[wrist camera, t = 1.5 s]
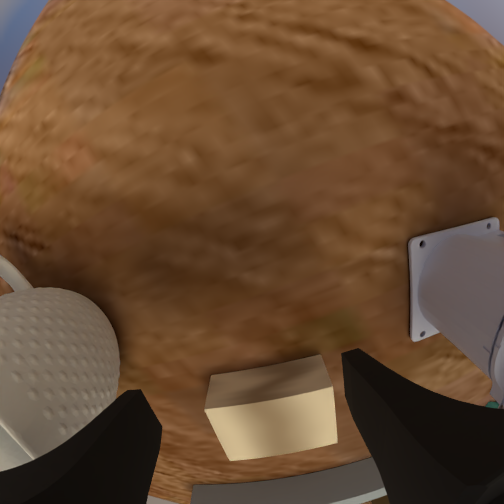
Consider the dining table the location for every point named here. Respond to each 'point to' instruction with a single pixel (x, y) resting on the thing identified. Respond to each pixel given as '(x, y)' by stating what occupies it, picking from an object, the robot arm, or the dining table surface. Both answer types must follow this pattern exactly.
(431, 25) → the dining table surface
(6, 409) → the mug
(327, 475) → the board
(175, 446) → the dining table surface
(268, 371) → the maple block
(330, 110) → the dining table surface
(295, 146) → the dining table surface
